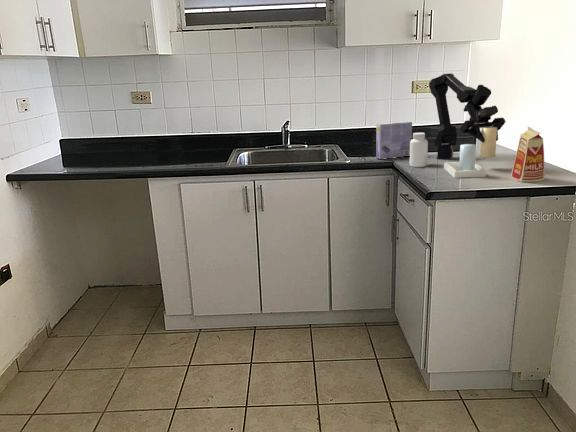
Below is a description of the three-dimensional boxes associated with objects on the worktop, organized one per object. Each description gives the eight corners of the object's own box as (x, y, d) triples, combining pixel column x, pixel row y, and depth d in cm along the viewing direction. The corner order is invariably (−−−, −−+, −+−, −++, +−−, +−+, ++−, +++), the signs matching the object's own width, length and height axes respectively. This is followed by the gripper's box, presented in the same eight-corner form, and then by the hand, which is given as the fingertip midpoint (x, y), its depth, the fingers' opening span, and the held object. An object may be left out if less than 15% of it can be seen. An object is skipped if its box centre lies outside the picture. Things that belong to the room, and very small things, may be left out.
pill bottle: (417, 168, 223) (418, 134, 219) (405, 165, 230) (406, 133, 226) (431, 165, 226) (431, 133, 222) (419, 163, 233) (419, 131, 229)
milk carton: (510, 178, 194) (513, 126, 189) (532, 176, 195) (537, 125, 189) (522, 182, 186) (526, 129, 180) (546, 181, 186) (551, 127, 181)
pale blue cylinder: (457, 175, 202) (458, 146, 198) (461, 172, 206) (462, 143, 203) (472, 176, 199) (474, 146, 195) (476, 173, 203) (477, 144, 200)
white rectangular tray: (443, 169, 217) (444, 162, 216) (472, 168, 216) (472, 161, 215) (454, 178, 198) (454, 171, 197) (485, 177, 197) (486, 170, 196)
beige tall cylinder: (478, 157, 209) (480, 128, 206) (482, 154, 214) (483, 126, 210) (493, 157, 206) (495, 128, 202) (496, 155, 210) (498, 127, 207)
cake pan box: (408, 155, 257) (409, 120, 252) (413, 156, 252) (414, 121, 248) (375, 158, 252) (375, 123, 247) (380, 160, 247) (380, 124, 242)
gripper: (465, 101, 205) (479, 130, 198) (504, 98, 209) (520, 126, 202) (453, 118, 214) (467, 147, 207) (491, 115, 219) (506, 143, 211)
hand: (490, 141), depth 207 cm, fingers closed on beige tall cylinder, 6 cm apart
